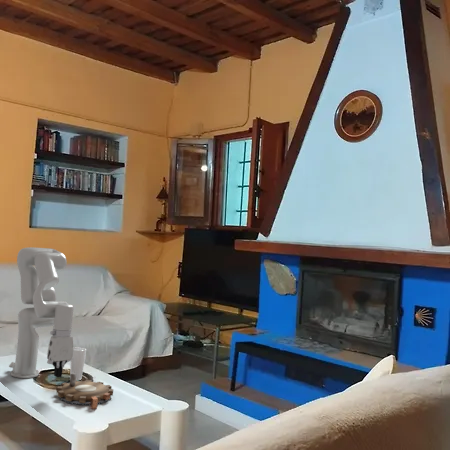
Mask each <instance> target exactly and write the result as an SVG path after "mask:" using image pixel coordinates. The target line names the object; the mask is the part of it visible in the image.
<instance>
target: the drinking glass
mask: <svg viewBox="0 0 450 450" xmlns="http://www.w3.org/2000/svg"><path fill="white" fill-rule="evenodd" d="M86 354H87V348H86V347H82V346H80V347H79V346H75V347H74V346H73V358H72V359H71V361H70V364H69V365H70V368H69V369H70V370H69V371H70V375H71V373H76V380H81V379H82V377H83V372H84V367H85V362H86ZM70 375H69V376H70ZM81 381H82V380H81Z"/></svg>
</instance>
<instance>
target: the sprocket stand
mask: <svg viewBox="0 0 450 450" xmlns="http://www.w3.org/2000/svg"><path fill="white" fill-rule="evenodd" d="M57 397H58V399H59V400H61V401H62V402H64V403H66V404H70V405H76V406H89V407H90V408H91V410H97V408H98V405H101V404H104V403H106V402H108V401H110V400H111V395H110V399H108V400H105V399H101V400H100V402H98V398H97V397H91V401H86V402H85V403H79V401H76V400H72V401H67V400H66V398H65V397H59V396H58V395H57Z"/></svg>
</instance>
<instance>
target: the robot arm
mask: <svg viewBox="0 0 450 450" xmlns="http://www.w3.org/2000/svg"><path fill="white" fill-rule="evenodd" d="M16 263H17V269H18V272H19V275H20V300H21V302H22V304H24V305H26V306H27V305H28V306H29V305H30V306H33V307H25V308H23V309H21V310H20V311H19V312H18V314H17V324H18V330H17V331H18V332H17V333H18V334H17V342H16V353H15V362H14V361H12V362H11V363H10V364H8V367H9V368H10V369H11V368H12V370H11V371H10V376H12V377H14V378H16V379H32V378H36V377H38V376H39V374H40V372H39V370H37V361H38V355H39V345H40V334H39V333H38V332H37V331H36V329H38V328H40V329H42V328H51V327H52V331H50V333H49V334H50V335H52V336H50V338H49V343H48V346H47V347H48V348H47V354H46V355H47V356H46V358H47V362H46V363H47V364H48V365H52V366H53V367H54V370H53V375H54V377H56V378H62V377H63V376H62V375H63V372H64V371H63V369H64V367H65V365H66V364H67V363H68V362H71V359H72V358H73V348H74V338H73V335H72V328H73V327H72V326H73V318H74V317H73V315H74V306H73V305H72V304H69V303H68V302H67V301H64V300H57V295H56V294H57V292H56V290H55V288H54V287H56V286H57V285H58V284H59V282H60V279H59V275H58V272H57V271H60V272H61V271H64V270H65V269H66V268H67V263H68V262H67V257H66V255H65V254H64V253H63V252H61V251H58V250H57V249H55V248H47V247H30V246H29V247H22V248H21V249H20V250H19V251H18V252H17V257H16ZM34 266H35V267H34Z"/></svg>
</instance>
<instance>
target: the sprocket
mask: <svg viewBox="0 0 450 450" xmlns="http://www.w3.org/2000/svg"><path fill="white" fill-rule="evenodd" d="M56 394H57V397H58V396H59V397H65V398H66V400H67V401H72V400H76V401H79V403H85V402H86V401H91V397H97V398H98V402H100V400H101V399H105V400H108V399H110V400H111V398H110V395H111V396H114V389H113V388H112V385H110V384H104V382H103V381H97V382H96V381H91V380H89V379H85V381H83V380H81V381H77V380H76V373H71V375H69V382H63V383H61V385H60V386H57V387H56ZM59 397H58V398H59ZM108 401H109V400H108Z"/></svg>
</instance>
